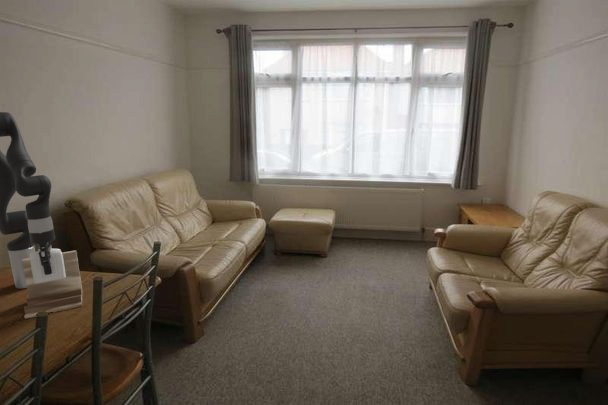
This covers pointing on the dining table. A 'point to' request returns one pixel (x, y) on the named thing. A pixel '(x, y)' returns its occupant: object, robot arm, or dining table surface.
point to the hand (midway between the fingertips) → (49, 271)
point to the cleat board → (54, 288)
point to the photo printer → (56, 267)
